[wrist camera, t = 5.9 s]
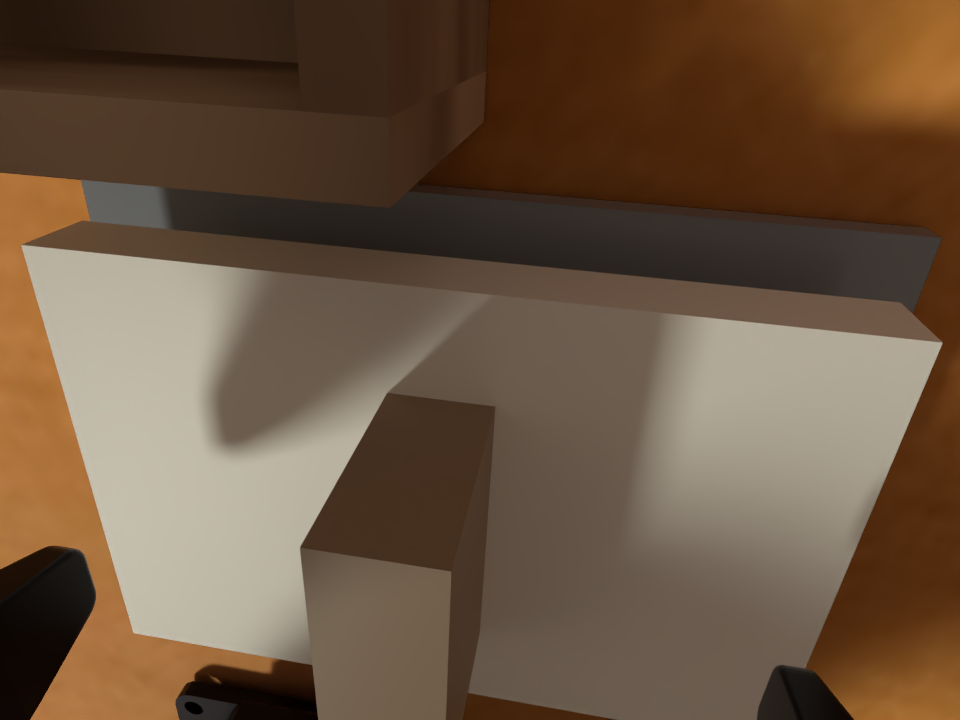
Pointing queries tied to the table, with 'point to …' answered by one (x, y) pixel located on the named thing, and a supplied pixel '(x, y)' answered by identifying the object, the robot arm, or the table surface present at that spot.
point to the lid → (474, 465)
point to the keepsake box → (242, 93)
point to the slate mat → (562, 235)
